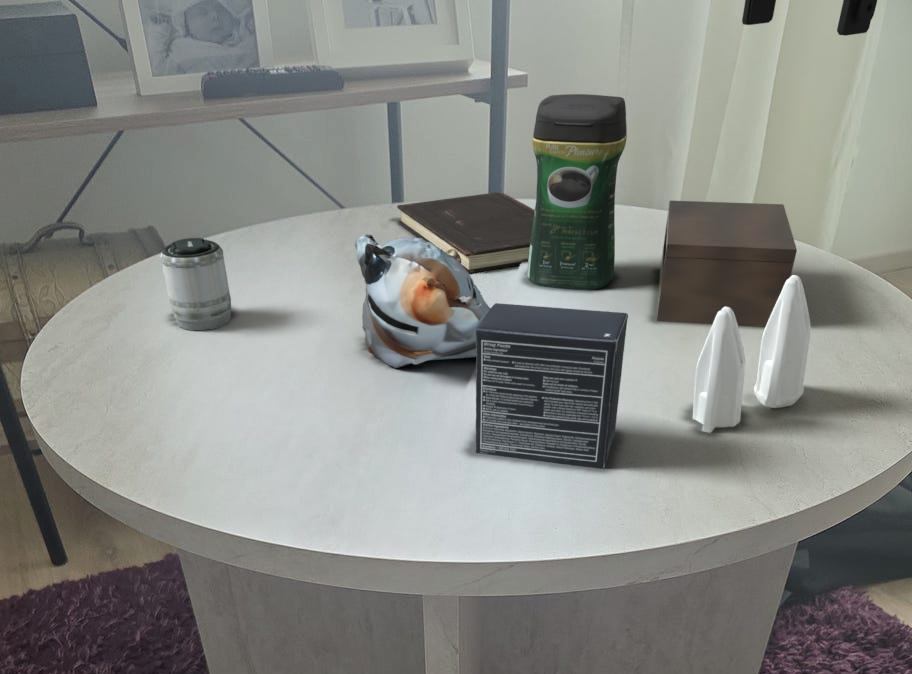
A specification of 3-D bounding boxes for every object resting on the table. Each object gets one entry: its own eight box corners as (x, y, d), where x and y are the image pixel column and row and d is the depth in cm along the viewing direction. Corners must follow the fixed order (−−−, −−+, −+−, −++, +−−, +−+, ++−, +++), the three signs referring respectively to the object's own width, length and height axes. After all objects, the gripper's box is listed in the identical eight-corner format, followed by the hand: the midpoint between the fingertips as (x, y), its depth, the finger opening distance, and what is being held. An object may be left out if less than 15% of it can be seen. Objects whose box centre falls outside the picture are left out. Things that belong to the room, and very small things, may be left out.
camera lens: (228, 306, 100) (215, 231, 95) (238, 326, 95) (226, 248, 90) (170, 315, 98) (154, 238, 93) (178, 335, 94) (162, 256, 89)
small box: (616, 437, 75) (632, 309, 68) (605, 475, 70) (620, 341, 63) (491, 422, 77) (494, 297, 71) (472, 458, 72) (473, 328, 66)
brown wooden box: (767, 280, 103) (783, 204, 98) (778, 333, 91) (797, 249, 86) (659, 274, 105) (669, 200, 100) (655, 326, 93) (667, 244, 88)
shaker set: (780, 389, 81) (811, 260, 74) (816, 407, 78) (851, 275, 71) (673, 420, 77) (695, 286, 70) (707, 440, 74) (733, 303, 67)
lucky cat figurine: (528, 344, 90) (531, 234, 77) (447, 425, 87) (437, 325, 74) (416, 271, 94) (401, 156, 81) (336, 346, 92) (308, 239, 79)
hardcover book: (466, 274, 107) (466, 253, 105) (397, 223, 123) (397, 205, 122) (586, 255, 111) (588, 235, 110) (504, 208, 128) (505, 191, 126)
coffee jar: (617, 274, 106) (637, 89, 94) (605, 297, 100) (625, 103, 88) (535, 267, 108) (545, 86, 96) (519, 289, 102) (527, 100, 90)
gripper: (1006, -272, 61) (923, 34, 72) (796, -245, 72) (752, 16, 83) (939, -278, 58) (863, 42, 69) (730, -248, 69) (693, 23, 80)
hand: (802, 28), depth 76 cm, fingers open, 9 cm apart
